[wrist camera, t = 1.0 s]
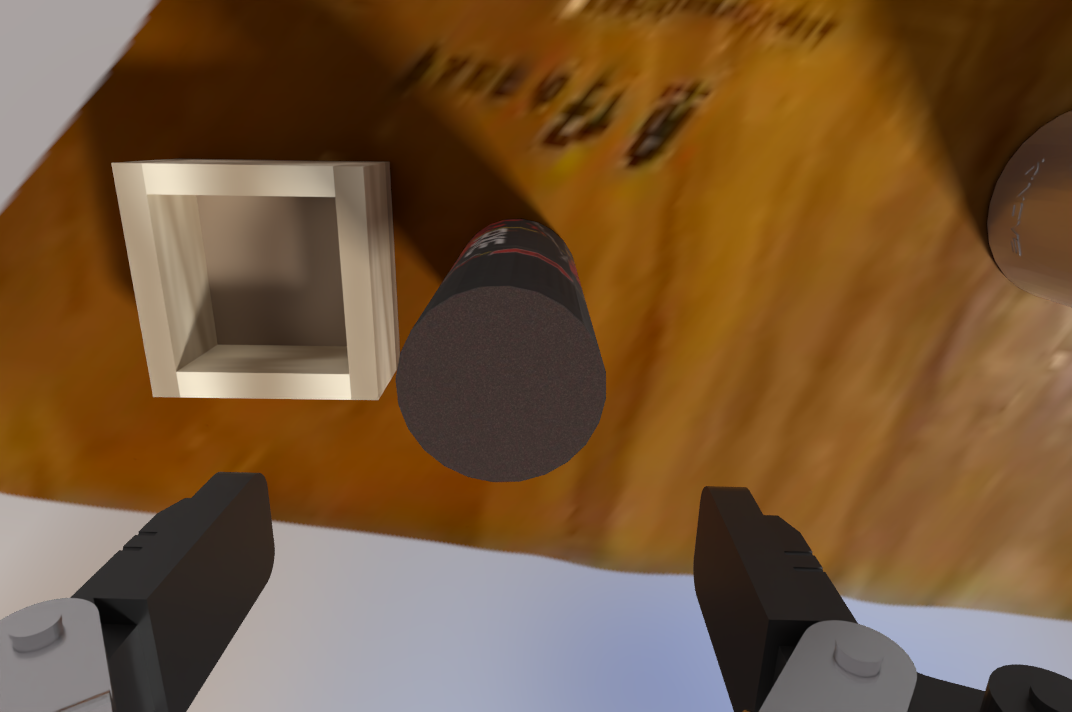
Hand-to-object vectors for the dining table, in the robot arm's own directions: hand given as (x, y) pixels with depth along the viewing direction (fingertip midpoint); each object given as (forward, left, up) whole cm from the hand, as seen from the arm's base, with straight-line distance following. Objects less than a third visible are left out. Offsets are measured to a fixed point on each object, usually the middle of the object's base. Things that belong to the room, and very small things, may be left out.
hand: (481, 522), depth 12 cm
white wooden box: (+11, -1, -22) cm, 24 cm away
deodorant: (0, 0, -22) cm, 22 cm away
